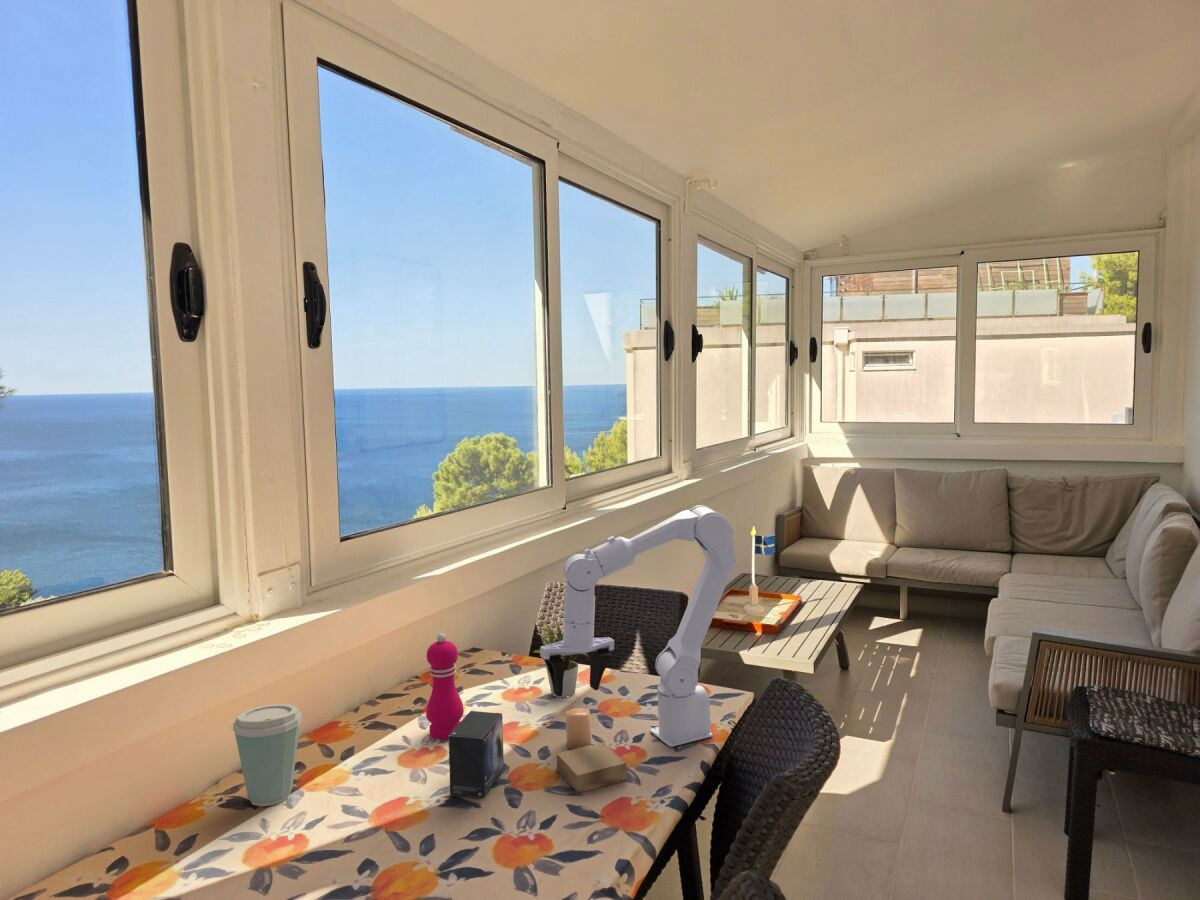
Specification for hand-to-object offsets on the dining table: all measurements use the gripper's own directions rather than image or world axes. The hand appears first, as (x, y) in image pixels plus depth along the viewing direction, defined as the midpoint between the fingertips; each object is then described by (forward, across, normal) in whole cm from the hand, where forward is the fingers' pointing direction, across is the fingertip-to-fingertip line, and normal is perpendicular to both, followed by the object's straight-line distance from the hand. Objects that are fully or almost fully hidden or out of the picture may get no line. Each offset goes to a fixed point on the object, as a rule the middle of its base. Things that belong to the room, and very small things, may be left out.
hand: (576, 691), depth 147 cm
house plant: (+10, -9, -22) cm, 26 cm away
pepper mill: (+12, +19, -18) cm, 29 cm away
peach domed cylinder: (+10, -1, 0) cm, 10 cm away
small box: (+12, +20, +4) cm, 24 cm away
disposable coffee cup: (+14, +51, -10) cm, 54 cm away
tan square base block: (+10, +3, +12) cm, 16 cm away
